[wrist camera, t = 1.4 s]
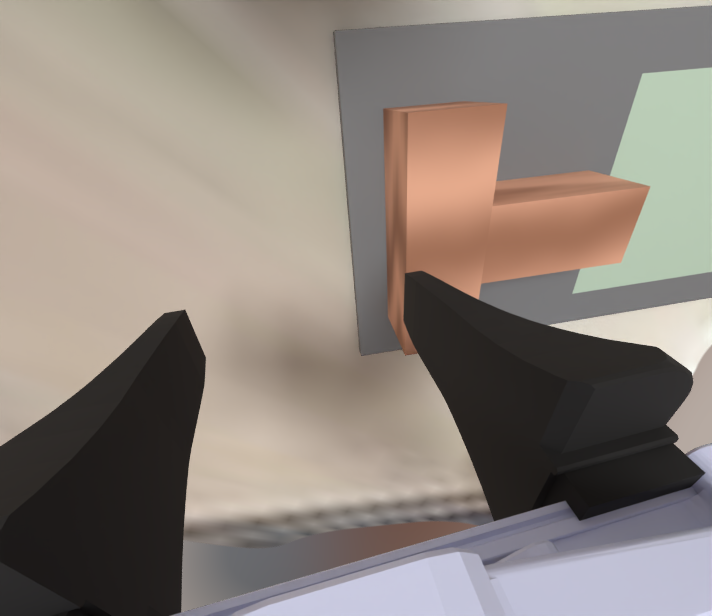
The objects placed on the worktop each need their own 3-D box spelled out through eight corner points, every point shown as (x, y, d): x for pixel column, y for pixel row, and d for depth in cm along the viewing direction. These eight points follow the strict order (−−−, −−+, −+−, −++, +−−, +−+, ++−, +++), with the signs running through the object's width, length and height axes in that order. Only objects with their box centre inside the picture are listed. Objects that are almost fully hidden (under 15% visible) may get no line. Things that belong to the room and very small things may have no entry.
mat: (717, 291, 28) (725, 295, 27) (359, 350, 25) (361, 355, 24) (890, -5, 18) (907, -8, 17) (333, 32, 15) (334, 30, 14)
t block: (554, 290, 24) (597, 322, 21) (388, 316, 23) (405, 355, 19) (612, 87, 17) (689, 86, 14) (383, 108, 16) (408, 112, 13)
